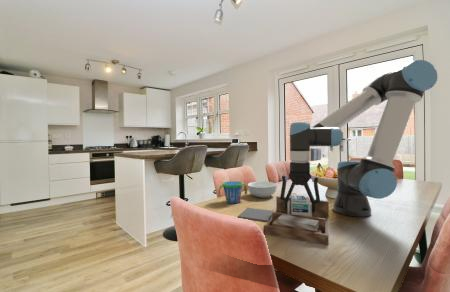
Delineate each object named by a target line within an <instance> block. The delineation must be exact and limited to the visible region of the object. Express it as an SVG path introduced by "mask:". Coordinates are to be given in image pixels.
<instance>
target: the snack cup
mask: <svg viewBox="0 0 450 292" xmlns="http://www.w3.org/2000/svg"><path fill="white" fill-rule="evenodd" d="M243 186H244V195H247V194H248V186H247V185H246V184H245V183H243V182H242V181H238V180H237V181H236V180H235V181H234V180H233V181H230V180H229V181H224V182H223V183H222V184H220V186H219V188H218V191H217V194H218V197H219V198H221V189H222V188H223V192H224V196H225V201H226V203H228V204H239V203H240V202H241V196H242V189H243Z"/></svg>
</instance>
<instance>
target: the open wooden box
mask: <svg viewBox="0 0 450 292" xmlns="http://www.w3.org/2000/svg"><path fill="white" fill-rule="evenodd" d="M280 196H281V195H279V196H278V195H277V196H276V201H275V203H276V205H275V206H276V209H275V212H272V216H271V218H270V219H269V221H268V222H266V224H263V235H265V236H267V235H268V236H273V237H280V238H286V239H289V240H290V239H292V240H298V241H302V242H303V241H305V242H309V243H315V244H321V245H326V244H327V245H329V243H330V242H329V241H330V240H329V239H330V238H329V236H330V234H329V221H330V220H329V219H330V218H329V211H330V210H329V209H330V207H329V204H330V202H329V201H330V200H323V199H320V203H317V204H315V212H312V217H309V216H301V215H293V214H288V209H285V201H284V200H281V199H280ZM288 201H290V197H289V200H288ZM310 203H311V201H310ZM290 208H291V207H290ZM282 214H285V215H290V216H296V217H301V218H307V219H312V220H318V221H319V226H318V230H320V231H322V233H317V232H310V231H303V230H296V229H290V228H283V227H276V226H272V223H273V222H274V220H275V219H276V218H279V217H280V216H281V215H282ZM327 245H326V246H327Z"/></svg>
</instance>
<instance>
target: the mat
mask: <svg viewBox="0 0 450 292" xmlns="http://www.w3.org/2000/svg"><path fill="white" fill-rule="evenodd" d="M272 212H276V210H270V209H262V208H261V209H260V208H254V207H247V208H245V209H244V210H243V211H242V212H241V213H240V214H238V216H237V218H238V217H240V218H239V219H244V218H245V220H251V221H260V222H266V223H268V221H269V220H270V219H271V217H272Z"/></svg>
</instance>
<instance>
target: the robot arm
mask: <svg viewBox="0 0 450 292" xmlns="http://www.w3.org/2000/svg"><path fill="white" fill-rule="evenodd" d="M437 81H438V71H437V69H436V68H435V66H434V65H433V64H432V63H431V62H430V61H428V60H425V59H416V60H412V61H407V62H406V63H405V64H402V65H400V66H397V67H395V68H392V69H389V70H387V71H386V72H383V73H382V74H381V75H379V77H376V78H375V79H374V80H373V81H372V82H371V83H369V84H368V85H365V87H364V88H363V89H362V91H361V92H360V93H359V94H358V95H356V96H354V97H353V98H352V99H350V100H349V101H347V102H346V103H345V104H344V105H342V106H341V107H339V108H338V109H336V110H335V111H333V112H331V113H330V114H329V115H328V116H326V117H325V118H323V119H322V120H320V121H319V122H317V123H316V124H314V125H313V126H311V122H307V121H305V122H304V121H300V122H292V123H291V124H290V125H289V126H290V127H289V161H290V163H289V173H288V174H283V175H282V176H281V180H282V184H281V191H280V195H279V196H280V199H281V200H284V201H285V209H288V214H291V208H290V201H288V200H289V197H290V195H291V193H293V191H294V188H295V186H301V187H302V186H303V187H304V189H305V191H306V194H307V196H308V198H309V199H310V201H311V203H310V217H312V212H315V204H317V203H320V200H321V198H320V192H319V186H318V181H319V177H318V176H313V175H312V174H311V172H310V171H311V163H310V162H309V161H310V160H311V148H310V147H330V148H331V147H339V146H340V145H341V144H342V142H343V137H344V136H343V131H342V129H341V128H343V127H344V126H346V125H347V124H350V123H351V122H352V121H353V120H354V119H356V118H357V117H359V116H360V115H362V114H363V113H365V112H366V111H368V110H369V109H370V108H371V107H374V106H379V105H380V104H382V103H383V102H385V101H387V102H386V105H385V107H384V109H383V113H382V115H381V118H380V120H379V124H378V125H377V128H376V131H375V133H374V137H373V139H372V140H371V141H372V142H371V144H370V147H369V150H368V152H367V153H366V155H365V156H364V157H361V158H360V160H349V161H348V160H347V161H345V160H343V161H339V162H338V163H337V169H336V170H337V174H336V175H337V179H336V181H337V193H336V196H335V199H334V202H333V203H332V204H333V205H332V207H333V209H332V210H333V211H334V212H336V213H337V214H340V215H344V216H350V217H361V218H363V217H369V216H371V214H372V208H371V204H370V202H369V199H368V198H372V199H377V200H380V199H384V198H388V197H389V196H391V195H392V194H393V193H394V192H395V191H396V188H397V187H398V179H397V178H396V177H397V176H396V174H394V173H395V170H396V167H395V165H394V163H393V162H394V159H395V157H396V153H397V152H398V148H399V145H400V143H401V140H402V138H403V135H404V133H405V131H406V127H407V124H408V122H409V119H410V116H411V114H412V111H413V109H414V106H415V105H416V104H417V103H419V102H421V101H422V99H423V96H424V95H425V94H424V93H425V92H426V91H428V90H430V89H431V88H433V87H435V85H436V84H437ZM288 180H290V181H291V184H290V186H289V190H288V192H287V194H286V189H287V183H288V182H287V181H288ZM310 180H311V182H312V183H313V188H314V193H315V198H314V195H313V193H312V190H311V187H310V186H309V181H310Z"/></svg>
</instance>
